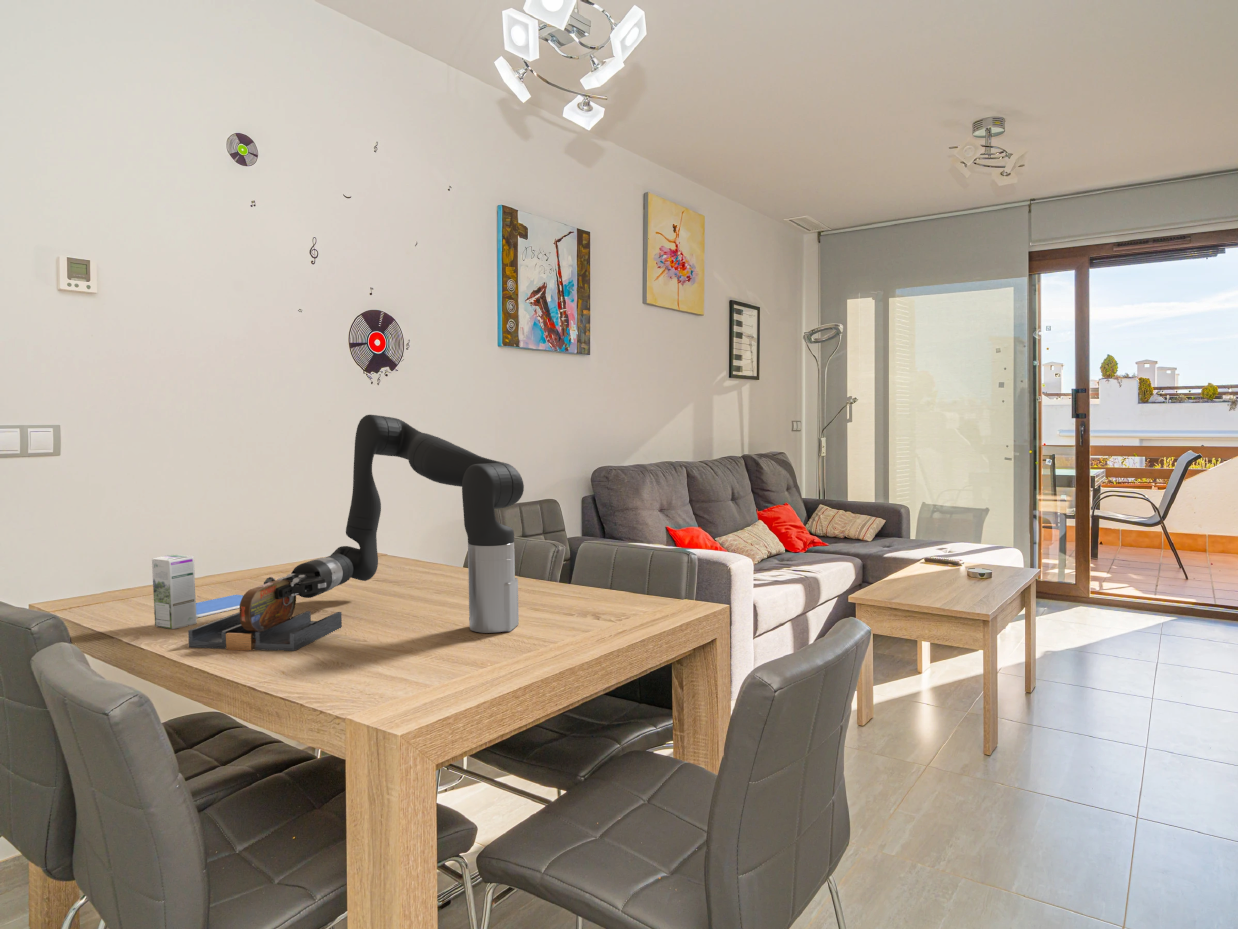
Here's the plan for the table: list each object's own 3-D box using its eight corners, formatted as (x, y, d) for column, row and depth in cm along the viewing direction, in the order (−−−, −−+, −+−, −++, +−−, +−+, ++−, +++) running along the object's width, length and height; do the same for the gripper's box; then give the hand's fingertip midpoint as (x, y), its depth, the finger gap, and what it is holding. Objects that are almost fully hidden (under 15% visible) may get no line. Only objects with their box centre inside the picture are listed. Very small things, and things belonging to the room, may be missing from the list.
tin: (251, 637, 140) (251, 593, 139) (235, 636, 140) (235, 591, 140) (297, 616, 155) (297, 576, 154) (283, 615, 155) (283, 575, 155)
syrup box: (198, 623, 159) (195, 555, 159) (171, 630, 154) (168, 559, 153) (180, 621, 162) (177, 553, 161) (153, 627, 156) (150, 557, 156)
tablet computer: (237, 598, 186) (237, 593, 186) (272, 603, 181) (272, 597, 181) (159, 615, 169) (159, 609, 169) (195, 621, 164) (195, 615, 163)
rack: (341, 627, 154) (341, 612, 154) (292, 652, 137) (291, 634, 137) (246, 624, 157) (246, 609, 157) (186, 648, 140) (186, 631, 140)
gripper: (287, 559, 166) (236, 574, 149) (346, 560, 164) (301, 575, 147) (288, 593, 166) (237, 612, 149) (347, 594, 164) (303, 613, 147)
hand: (269, 594), depth 148 cm, fingers closed on tin, 2 cm apart
